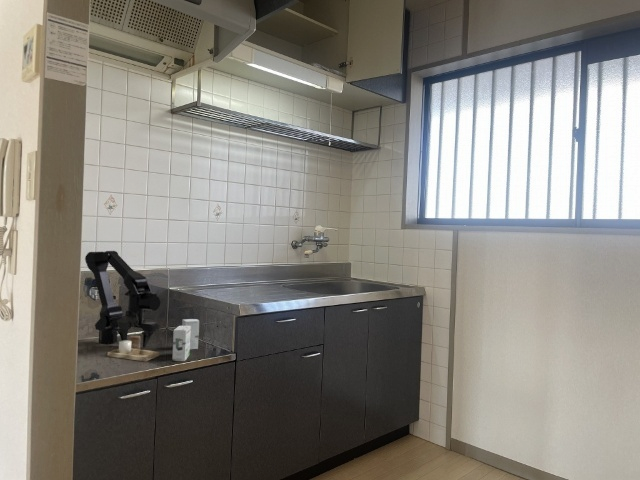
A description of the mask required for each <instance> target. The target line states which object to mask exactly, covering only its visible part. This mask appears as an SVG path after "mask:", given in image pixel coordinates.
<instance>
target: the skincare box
mask: <svg viewBox="0 0 640 480" xmlns="http://www.w3.org/2000/svg"><path fill="white" fill-rule="evenodd" d="M181 322H182V323H181V326H191V334H190V350H195V349H196V350H198V349H199V334H200V320H199V319H196V318H187V319H185V318H183V319H182V321H181Z"/></svg>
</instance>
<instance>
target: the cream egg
mask: <svg viewBox="0 0 640 480" xmlns="http://www.w3.org/2000/svg"><path fill="white" fill-rule="evenodd" d="M118 341H119V342H118V349H119V353H121V354H129V353H131V342H132V341H130V340H129V339H127V340H123V341H122V340H118Z"/></svg>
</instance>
